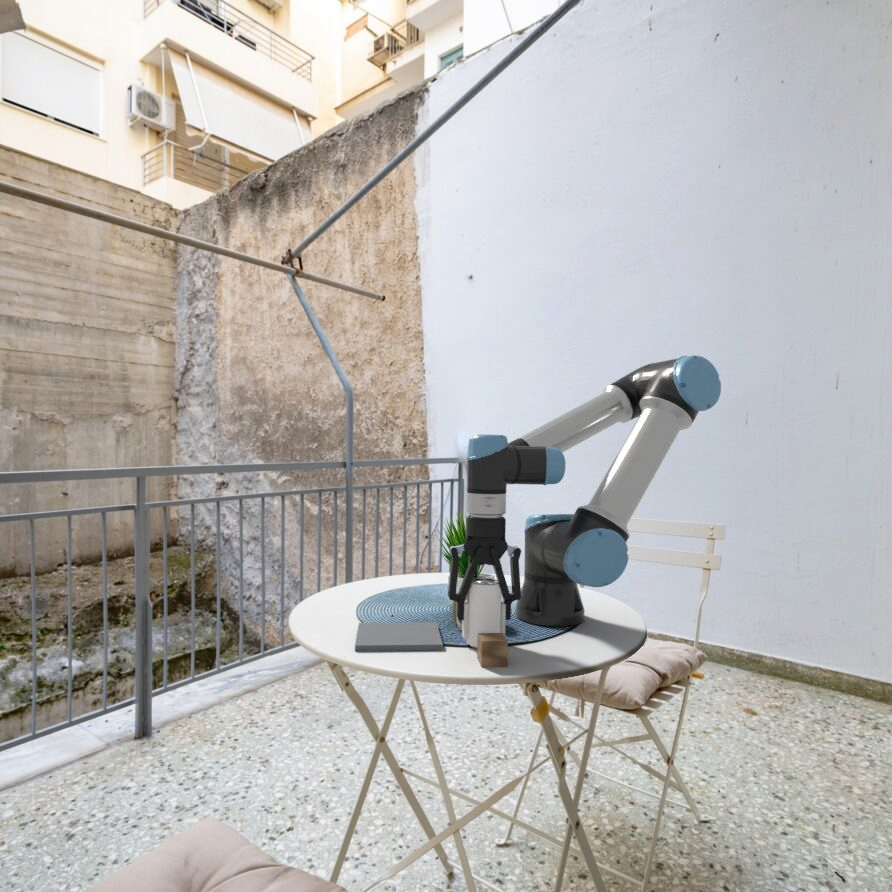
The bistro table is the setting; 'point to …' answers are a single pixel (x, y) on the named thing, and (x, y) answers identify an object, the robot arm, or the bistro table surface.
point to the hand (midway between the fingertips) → (483, 636)
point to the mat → (398, 637)
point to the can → (483, 608)
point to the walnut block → (492, 650)
